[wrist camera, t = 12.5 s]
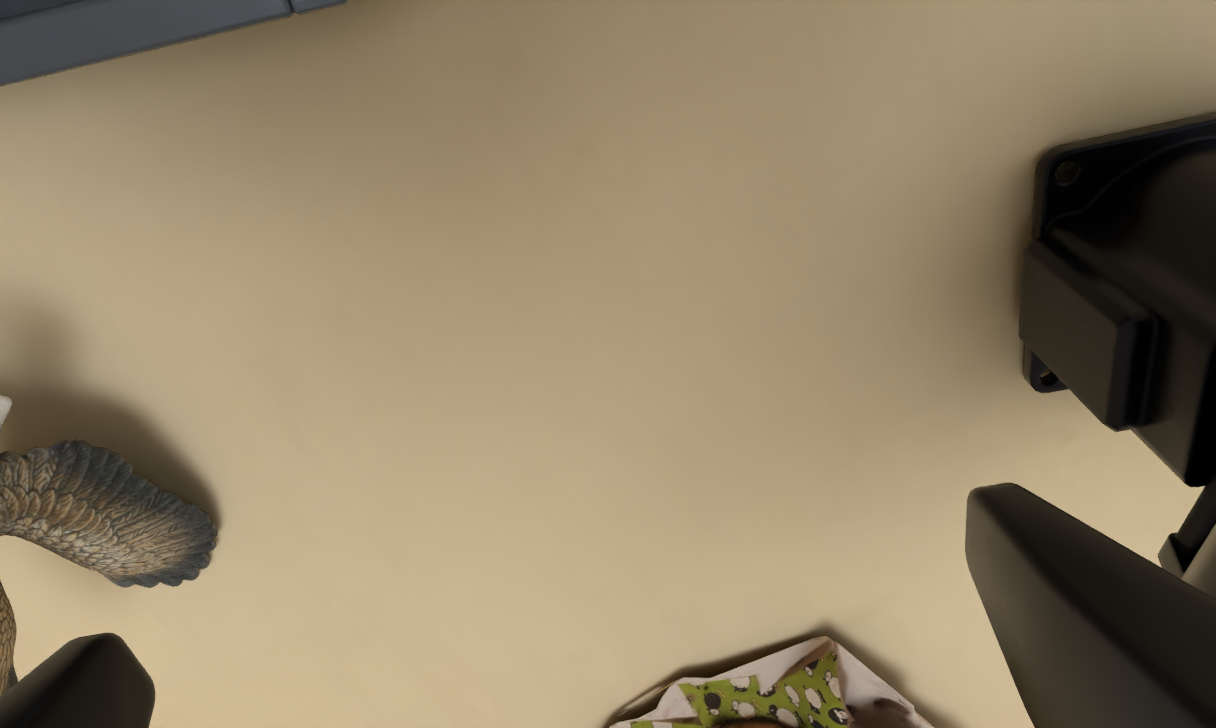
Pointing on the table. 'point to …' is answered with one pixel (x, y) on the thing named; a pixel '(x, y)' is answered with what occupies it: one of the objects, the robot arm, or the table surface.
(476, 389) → the table surface
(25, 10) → the open box
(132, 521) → the eagle figurine
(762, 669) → the bear figurine
